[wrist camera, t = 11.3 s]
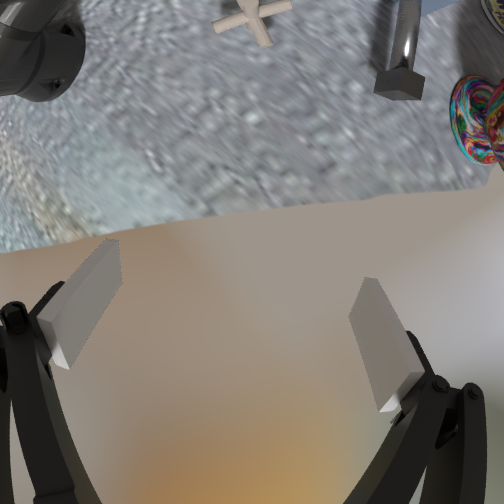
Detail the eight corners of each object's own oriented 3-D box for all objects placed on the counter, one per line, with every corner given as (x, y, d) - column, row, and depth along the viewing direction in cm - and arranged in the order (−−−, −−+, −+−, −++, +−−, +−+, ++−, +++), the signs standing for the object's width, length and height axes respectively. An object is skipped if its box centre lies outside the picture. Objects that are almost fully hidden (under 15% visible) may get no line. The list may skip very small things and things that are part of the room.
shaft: (373, 92, 32) (398, 90, 24) (393, -32, 21) (415, -52, 14) (392, 100, 32) (420, 100, 25) (411, -24, 21) (435, -41, 14)
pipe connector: (207, 12, 30) (192, -13, 21) (272, -10, 28) (275, -40, 19) (233, 65, 34) (224, 52, 25) (299, 43, 32) (310, 24, 23)
